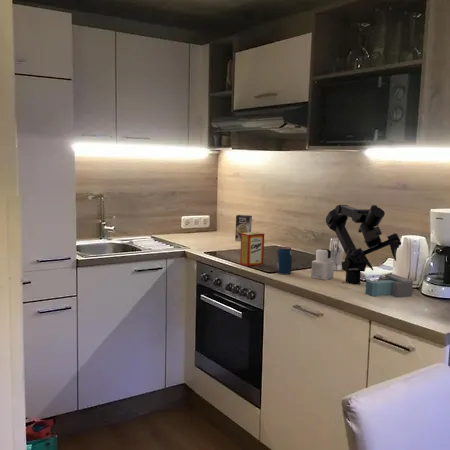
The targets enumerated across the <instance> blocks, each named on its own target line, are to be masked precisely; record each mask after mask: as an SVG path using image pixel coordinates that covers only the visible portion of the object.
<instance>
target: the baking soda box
mask: <svg viewBox="0 0 450 450" xmlns="http://www.w3.org/2000/svg"><path fill="white" fill-rule="evenodd" d="M264 248H265V233H263V232H259V231H251V232H249V233H241V241H240V256H239V257H240V258H239V259H240V260H239V261H240V263H239V264H240V265H241V266H245V265H246V266H245V267H252V266H251V265H256V266H261V265H260V264H263V265H264V256H265V254H264V252H265V249H264Z"/></svg>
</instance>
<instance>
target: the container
mask: <svg viewBox="0 0 450 450" xmlns="http://www.w3.org/2000/svg"><path fill="white" fill-rule="evenodd" d="M315 252H316V253H315V259H314V260H312V261H311V274H310V277H311V279H316V278H317V280H322V281H328V280H330V279H332V278H334V272H335V270H334V261H332V260H330V259H331V251H330V250H329V249H328V248H318V249H316V251H315Z"/></svg>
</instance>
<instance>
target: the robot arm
mask: <svg viewBox="0 0 450 450" xmlns="http://www.w3.org/2000/svg"><path fill="white" fill-rule="evenodd" d="M385 214H386V213H385V210H384V209H382V208H380V207H379V206H377V205H376V204H372V205H371V206H370V208H369V209H367V208H364V209H362V208H359V209H358V208H356V207H352V206H349V205H347V204H338V205H336V206H335V208H333V209H332V210H330V211H329V212H328V214H327V215H326V217H325V223H326V225H327V227H328V228H329V229H330V230H331V231H334V233H335V234H336V236H337V237H336V238H338V239H339V241H340V243H341V245H342V247H343V249H344V252H345V253H344V254H345V257H344V261H342V263H341V265H342V270H341V271H344V272H345V281H342V284H351V285H355V286H356V285H360V284H361V277H362V276H361V272H365V271H366V268H367V267H369V268H370V270H371V271H374V267H373V266H372V264H371V263H370V261H369V259H368V258H367V256H366V255H368V254H370V253H371V254H372V252H375V251H376V252H377V251H379V250H380V249H383V248H386V247H388V246H389V247H390V250H391V254H392V256H393V260H394V261H395V262H396V261H397V251H398V248H400V246H401V245H402V241H401V239H400V237H399V235H398V233H396V232H394V233H392V234H389V235H387V236H386V238H387V240H385V241H382V239H381V235H383V233H382V231H381V228H380V227H379V225H380V223H381V222H382V220H383V218H384V217H385ZM349 218H350V219H351V220H352V222H354V223H355V224H360V225H359V228H358V232H357V233H361V234H362V236H363V239H364V242H365V244H366V246H367V248H365V249H362V248H361V247H359V248H357V247H356V245H355V243H354V241H353V239H352V238H351V235H350V233H349V231H348V230H347V228H346V224H347V221H348V219H349Z"/></svg>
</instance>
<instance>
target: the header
mask: <svg viewBox="0 0 450 450" xmlns="http://www.w3.org/2000/svg"><path fill="white" fill-rule="evenodd" d="M378 280H396V282H392V294H391V295H390V296H391V297H395V298H408V297H412V296H413V283H414V281H413V279H412V280H411V279H409V278H407V277H403V276H400V275H397V274H395V273H394V274H393V273H392V274H391V273H390V274H389V273H388V274H385V276H379V277H378Z"/></svg>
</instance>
